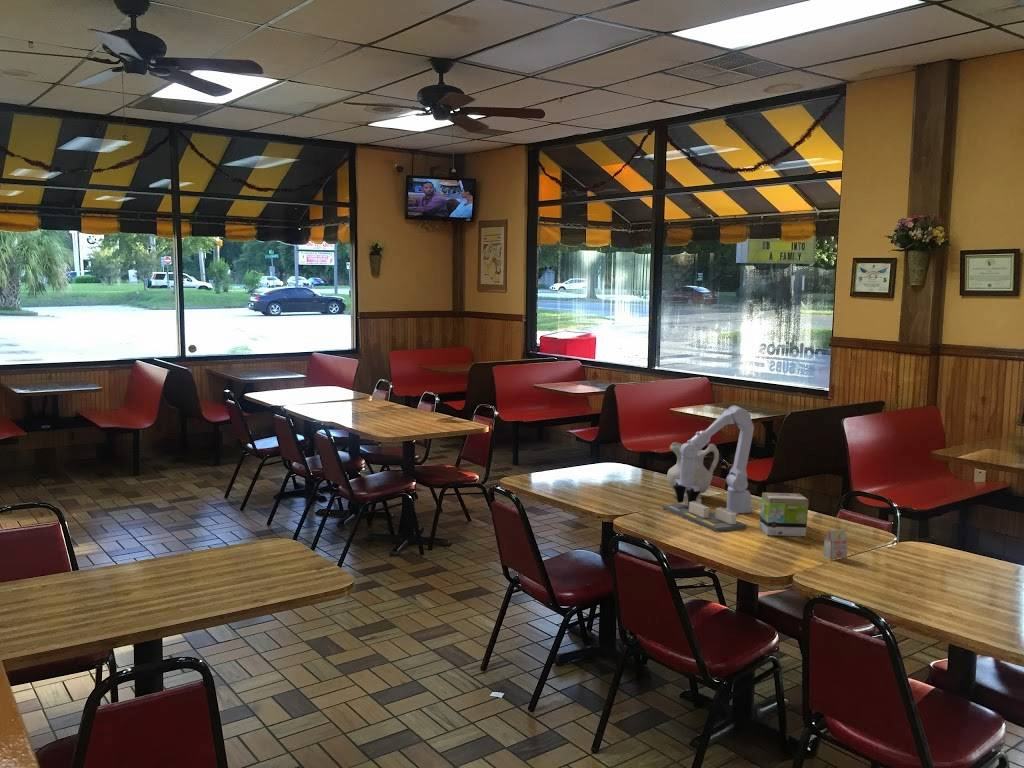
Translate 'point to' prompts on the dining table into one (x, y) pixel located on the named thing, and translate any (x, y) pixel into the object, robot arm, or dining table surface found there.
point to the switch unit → (706, 522)
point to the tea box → (783, 514)
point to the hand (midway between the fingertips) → (685, 504)
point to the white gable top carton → (835, 544)
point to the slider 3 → (725, 515)
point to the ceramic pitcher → (700, 472)
